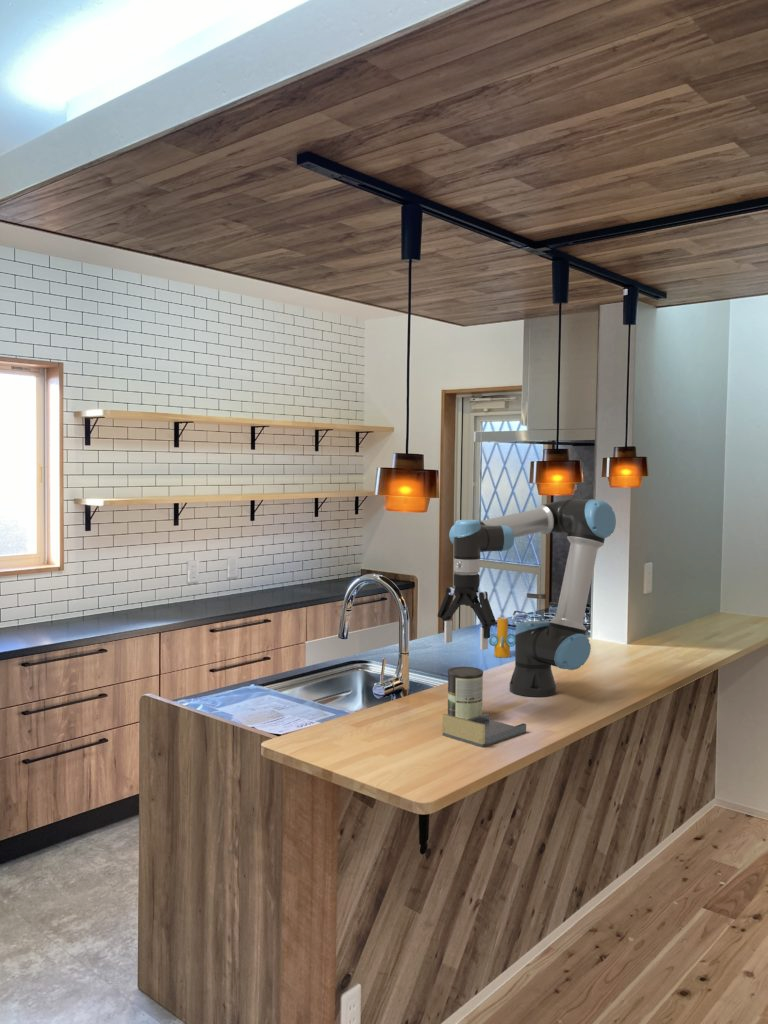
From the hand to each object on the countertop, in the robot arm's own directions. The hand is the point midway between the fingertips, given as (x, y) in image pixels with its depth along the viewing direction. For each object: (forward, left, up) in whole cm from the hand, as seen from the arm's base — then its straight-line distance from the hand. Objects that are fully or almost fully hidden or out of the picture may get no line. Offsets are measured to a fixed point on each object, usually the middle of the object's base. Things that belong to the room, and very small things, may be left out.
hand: (465, 645), depth 249 cm
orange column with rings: (-75, -45, -22) cm, 91 cm away
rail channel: (+7, +13, -21) cm, 26 cm away
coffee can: (0, 0, -22) cm, 22 cm away
